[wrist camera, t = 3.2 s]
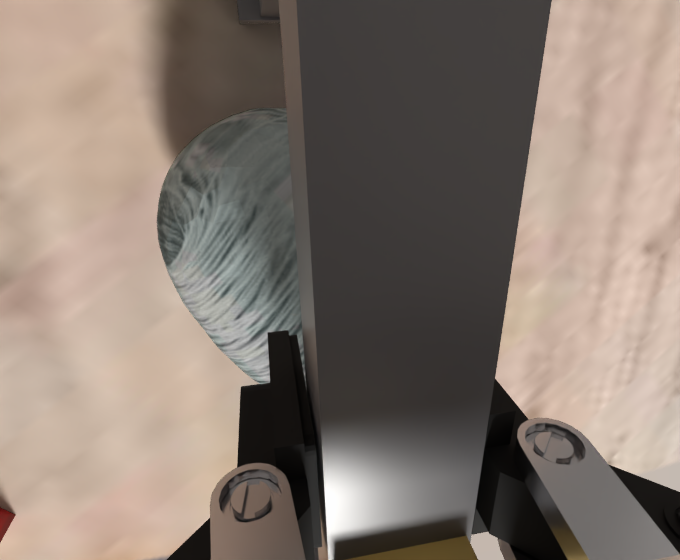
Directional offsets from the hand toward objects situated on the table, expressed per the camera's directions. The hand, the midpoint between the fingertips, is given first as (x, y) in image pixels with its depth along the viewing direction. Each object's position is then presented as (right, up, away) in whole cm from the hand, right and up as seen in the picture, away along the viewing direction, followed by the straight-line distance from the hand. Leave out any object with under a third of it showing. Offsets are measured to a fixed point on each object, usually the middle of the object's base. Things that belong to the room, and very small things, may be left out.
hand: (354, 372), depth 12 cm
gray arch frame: (-2, +4, +9) cm, 11 cm away
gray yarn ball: (-2, +4, +10) cm, 11 cm away
